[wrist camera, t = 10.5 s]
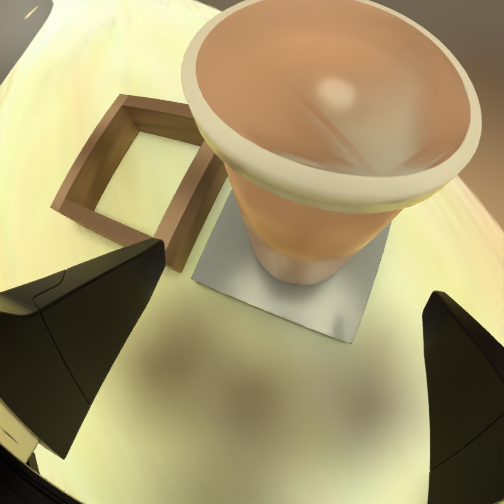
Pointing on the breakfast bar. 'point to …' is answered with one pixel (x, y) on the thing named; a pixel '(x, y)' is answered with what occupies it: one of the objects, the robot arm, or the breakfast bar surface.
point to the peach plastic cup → (327, 123)
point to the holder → (111, 153)
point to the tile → (283, 294)
